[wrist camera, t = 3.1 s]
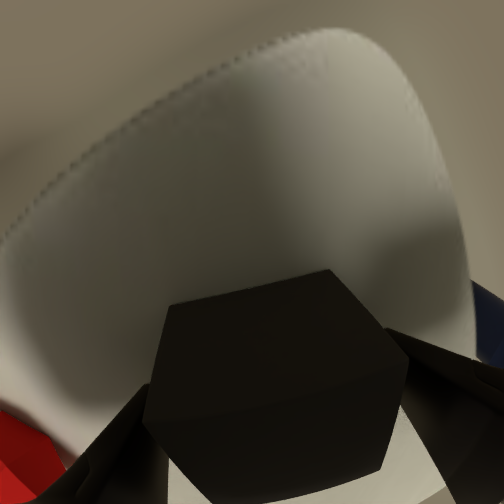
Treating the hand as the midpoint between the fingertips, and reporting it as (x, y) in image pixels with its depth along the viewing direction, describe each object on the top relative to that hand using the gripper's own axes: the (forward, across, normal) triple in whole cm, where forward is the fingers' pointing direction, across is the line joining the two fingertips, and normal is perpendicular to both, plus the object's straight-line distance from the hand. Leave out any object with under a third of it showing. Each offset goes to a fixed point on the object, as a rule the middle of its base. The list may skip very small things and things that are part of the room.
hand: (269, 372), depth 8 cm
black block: (+1, 0, 0) cm, 1 cm away
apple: (+1, +15, +5) cm, 16 cm away
